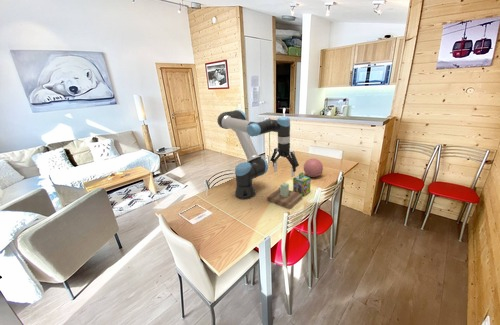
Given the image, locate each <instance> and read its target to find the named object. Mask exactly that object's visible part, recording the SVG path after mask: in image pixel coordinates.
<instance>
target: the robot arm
mask: <svg viewBox="0 0 500 325" xmlns="http://www.w3.org/2000/svg"><path fill="white" fill-rule="evenodd" d="M216 120H217V124H218V126H219V127H220V128H222V129H225V130H229V129H230V130H232V132H233V131H234V132H235V135H236V136H237V139H238V141H239V144H240V146H241V148H242V150H243V152H244V155H245V157H246V159H247V161H246V162H244V161H243V162H240V163H238V164H237V165H235V169H234V170H235V172H234V173H235V182H236V187H235V190H234V191H235V192H234V195H235V197H236V198H237V199H239V200H248V199H249V200H250V199H252V198H253V197H255V196H256V189H255V186H254V184H253V180H254V179H257V178H258V177H261V176H264V175H265V174H266V173H267V172H268V169H269V164H268V162H267V160H266V159H265V158H262V156H261V155H258V154H259V153H258V152H257V150H256V147H255V145H254V143H253V141H252V138H251V137H259V136H260V135H264V134H268V133H277V147H276V148H274V149H273V152H272V156H271V157H270V159H269V161H270V162H272V166H273V172H274V173H275V172H277V171H278V162H277V161H278V160H279V158H280V157H283V158H286V160H287V161H288V162H289V163H290V165H291V167H290V168H291V169H290V170H291V177H293V178H294V177H296V176H295V172H296V171H297V167H299V162H298V160H297V157H296V154H295V151H294V150H292V151H291V150H290V149H291V118H290V117H288V116H281V117H277V119H271V118H265V119H264V120H263V121H259V122H256V121H250V120H247V115H246V113H245V112H244V111H243V110H239V109H235V110H231V111H224V112H222V113H220V114H219V115H218V116H217V119H216ZM277 153H278V154H277Z"/></svg>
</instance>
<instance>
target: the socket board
mask: <svg viewBox="0 0 500 325" xmlns="http://www.w3.org/2000/svg"><path fill="white" fill-rule="evenodd" d="M266 200H267V202H269V203H272V204H274V205H277V206H280V207H282V208H285V209H286V210H291V209H292V208H293V207H295V206H296V205H297V204H298V203H299V202H300V201H302V200H303V196H302V194H300V193H296V192H293V191H292V190H290V189H289V196H288V197H287V198H284V197H281V195H280V187H279V188H277V189H276V190H275V191H273V192H272V193H269V195H267V196H266Z"/></svg>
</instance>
